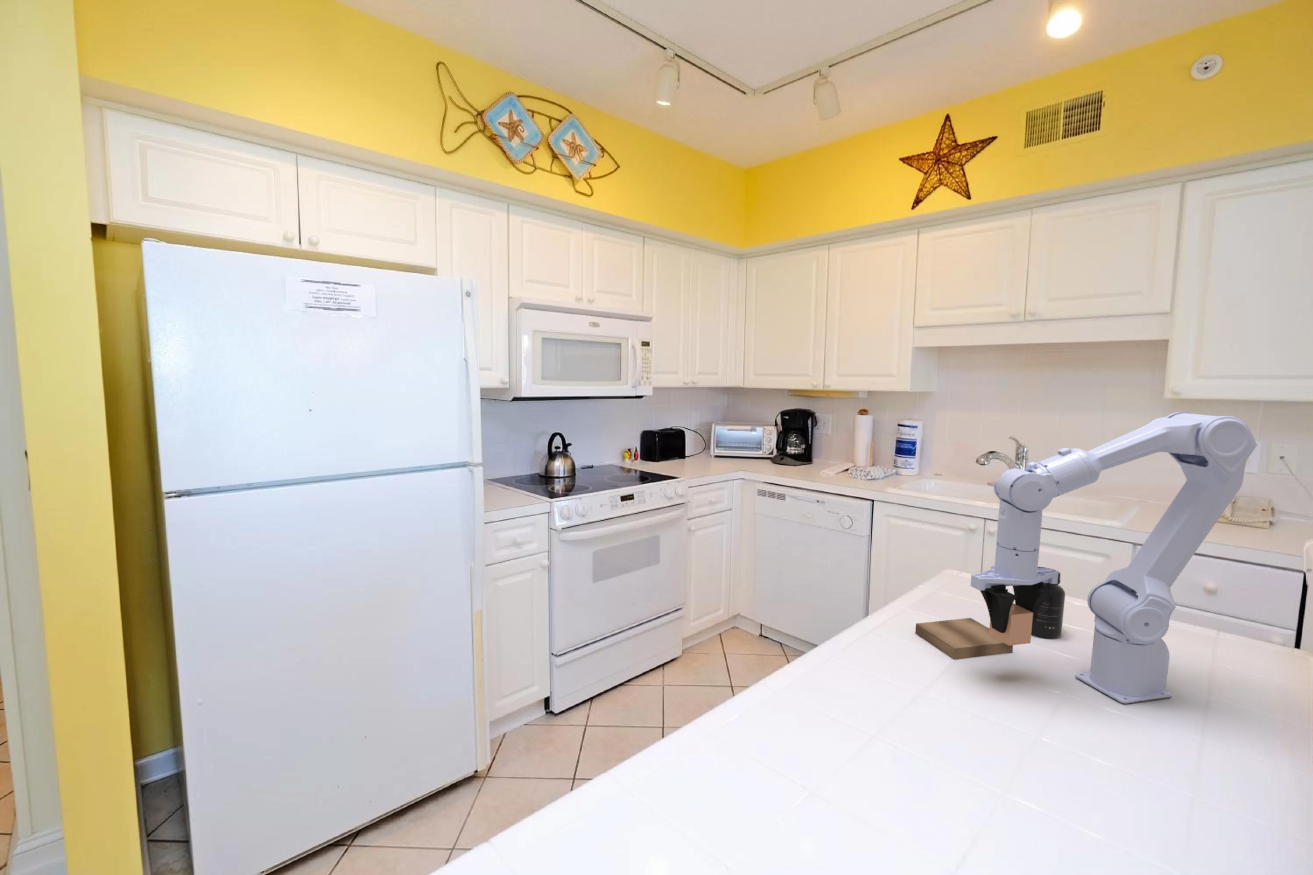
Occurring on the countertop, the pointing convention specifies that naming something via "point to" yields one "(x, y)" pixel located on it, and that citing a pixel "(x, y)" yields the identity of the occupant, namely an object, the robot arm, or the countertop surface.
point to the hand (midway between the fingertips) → (1010, 628)
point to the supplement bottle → (1050, 613)
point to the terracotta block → (1015, 627)
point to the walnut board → (961, 638)
